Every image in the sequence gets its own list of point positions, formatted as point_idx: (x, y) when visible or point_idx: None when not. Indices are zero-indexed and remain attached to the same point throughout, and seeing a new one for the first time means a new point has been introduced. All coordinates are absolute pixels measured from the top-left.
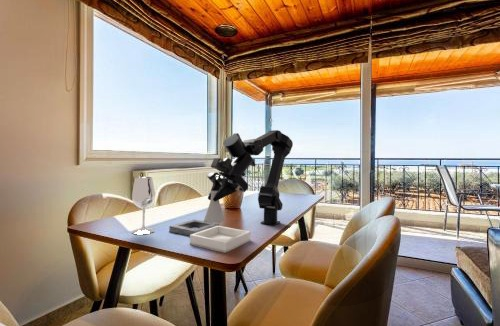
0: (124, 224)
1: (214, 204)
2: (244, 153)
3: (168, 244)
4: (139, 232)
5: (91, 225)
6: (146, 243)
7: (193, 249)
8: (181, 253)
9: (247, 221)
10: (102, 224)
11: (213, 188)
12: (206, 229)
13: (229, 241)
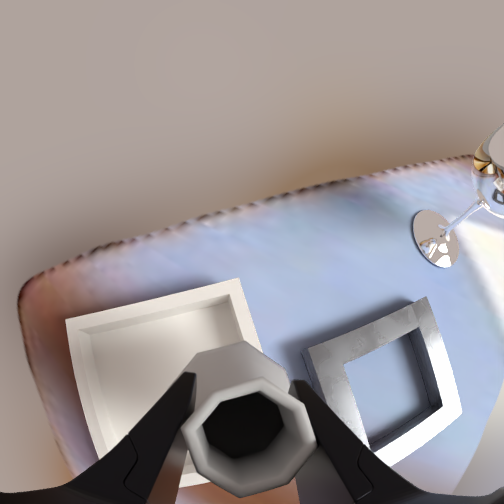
0: (497, 233)
1: (204, 393)
2: None
3: (282, 236)
4: (423, 219)
5: None
6: (328, 197)
7: (180, 271)
8: (176, 227)
9: None
10: None
11: (334, 464)
12: None
13: (69, 343)
